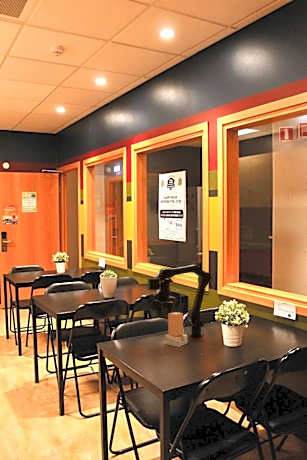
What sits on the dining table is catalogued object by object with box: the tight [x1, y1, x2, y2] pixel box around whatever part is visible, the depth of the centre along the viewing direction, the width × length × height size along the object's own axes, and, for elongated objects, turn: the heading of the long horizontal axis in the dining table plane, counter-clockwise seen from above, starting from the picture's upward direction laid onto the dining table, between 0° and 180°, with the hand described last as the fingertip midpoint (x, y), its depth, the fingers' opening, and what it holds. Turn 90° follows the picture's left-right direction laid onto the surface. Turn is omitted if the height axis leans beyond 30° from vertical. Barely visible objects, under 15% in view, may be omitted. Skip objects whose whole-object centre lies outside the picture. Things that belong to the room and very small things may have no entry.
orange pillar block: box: [167, 311, 184, 336], centre depth 240 cm, size 6×6×12 cm
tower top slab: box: [165, 333, 189, 343], centre depth 240 cm, size 9×9×2 cm
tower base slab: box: [165, 338, 189, 348], centre depth 240 cm, size 9×9×2 cm
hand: (164, 315), depth 250 cm, fingers open, 9 cm apart
